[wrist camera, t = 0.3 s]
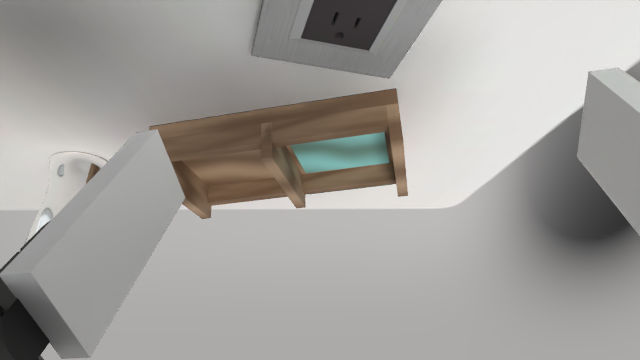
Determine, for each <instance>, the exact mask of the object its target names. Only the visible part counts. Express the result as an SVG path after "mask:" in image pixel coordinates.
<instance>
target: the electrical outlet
mask: <svg viewBox="0 0 640 360" xmlns="http://www.w3.org/2000/svg"><path fill="white" fill-rule="evenodd" d="M441 1H442V0H264V1H263V5H262V10H261V14H260V18H259V23H258V27H257V32H256V36H255V40H254V45H253V49H252V56H257V57H263V58H269V59H275V60H281V61H287V62H293V63H299V64H305V65H311V66H317V67H323V68H329V69H335V70H341V71H347V72H353V73H359V74H365V75H371V76H377V77H383V78H390V77H391V75H392V74H393V72H394V71H395V69H396V68H397V66H398V65H399V63H400V62H401V60H402V59H403V57H404V56H405V55H406V53H407V52H408V50H409V49H410V47H411V46H412V44H413V43H414V41H415V40H416V38H417V37H418V35H419V34H420V32H421V31H422V29H423V28H424V27H425V25H426V24H427V22H428V21H429V19H430V18H431V16H432V15H433V13H434V12H435V10H436V9H437V7H438V6H439V4H440V3H441Z"/></svg>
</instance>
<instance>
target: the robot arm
mask: <svg viewBox="0 0 640 360" xmlns="http://www.w3.org/2000/svg"><path fill="white" fill-rule="evenodd" d="M577 157H578V159H579V160H580V161H581V162H582V164H583V165H584V166H585V168H586V169H587V170H588V171H589V173H590V174H591V175H592V176H593V178H594V179H595V180H596V181H597V183H598V184H599V185H600V186H601V188H602V189H603V190H604V191H605V193H606V194H607V195H608V196H609V198H610V199H611V200H612V201H613V203H614V204H615V205H616V207H617V208H618V209H619V210H620V211H621V213H622V214H623V215H624V217H625V218H626V219H627V220H628V222H629V223H630V224H631V225H632V227H633V228H634V229H635V230H636V231H637V233H638V234H639V235H640V82H638V81H637V80H635V79H634V78H633V77H631V76H630V75H628V74H627V73H626V72H624V71H623V70H621V69H620V68H612V69H605V70H597V71H590V72H588V80H587V87H586V94H585V102H584V109H583V116H582V125H581V132H580V139H579V146H578V154H577ZM184 199H185V196H184V193H183V191H182V188H181V186H180V183H179V181H178V178H177V176H176V174H175V171H174V169H173V166H172V164H171V161H170V159H169V156H168V154H167V151H166V149H165V147H164V144H163V142H162V139H161V137H160V134H159V132H158V129H157V130H149V131H142V132H136V133H135V134H134V135H133V136H132V137H131V138H130V139H129V140H128V141H127V142H126V143H125V144H124V146H123V147H122V148H121V149H120V150H119V151H118V152H117V153H116V154H115V155H114V156H113V157H112V158H111V159H110V160H109V161H108V162H107V163H106V164H105V165H104V166H103V167H102V168H101V169H100V170H99V171H98V172H97V173H96V175H95V176H94V177H93V178H92V179H91V180H90V181H89V182H88V183H87V184H86V185H85V186H84V187H83V188H82V189H81V190H80V191H79V192H78V193H77V194H76V195H75V196H74V197H73V198H72V199H71V200H70V201H69V203H68V204H67V205H66V206H65V207H64V208H63V209H62V210H61V211H60V212H59V213H58V214H57V215H56V216H55V217H54V218H53V219H52V220H51V221H49V222H48V223H46V224H45V225H43V226H42V227H41V228H40V229H39V230H38V231H37V233H36V234H35V235H34V236H33V237H32V238H31V241H28V242H27V243H26V244H25V245H24V246H23V247H22V248H21V251H20V252H17V253H16V254H15V255H14V256H13V257H12V258H11V259H10V261H8V262H7V263H6V264H5V265H4V266H3V268H2V269H0V360H44V359H43V358H42V357H41V353H42V352H43V350H44V349H45V348H46V346H47V345H48V343H50V344H51V345H52V346H53V348H54V349H55V350H56V352H57V353H58V354H59V356H60V357H61V358H62V359H64V358H89V357H91V355H92V354H93V352H94V350H95V348H96V347H97V345H98V344H99V342H100V340H101V339H102V337H103V335H104V333H105V332H106V330H107V328H108V327H109V325H110V323H111V322H112V320H113V318H114V317H115V315H116V313H117V312H118V310H119V308H120V307H121V305H122V303H123V302H124V300H125V298H126V297H127V295H128V293H129V292H130V290H131V288H132V287H133V285H134V283H135V281H136V280H137V278H138V276H139V275H140V273H141V271H142V270H143V268H144V266H145V265H146V263H147V261H148V260H149V258H150V256H151V255H152V253H153V251H154V250H155V248H156V246H157V244H158V243H159V241H160V240H161V238H162V236H163V234H164V233H165V231H166V229H167V228H168V226H169V224H170V223H171V221H172V219H173V218H174V216H175V214H176V213H177V211H178V209H179V208H180V206H181V204H182V203H183V201H184Z"/></svg>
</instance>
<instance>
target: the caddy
mask: <svg viewBox="0 0 640 360" xmlns="http://www.w3.org/2000/svg"><path fill="white" fill-rule="evenodd" d="M157 129H158V132H159V134H160V137H161V139H162V142H163V144H164V147H165V149H166V151H167V154H168V156H169V159H170V161H171V164H172V166H173V169H174V171H175V174H176V176H177V178H178V181H179V183H180V186H181V188H182V191H183V193H184V196H185V199H184V201H183V203H182V204H183V205H184V206H186V207H187V208H188V209H190V210H191V211H193V212H194V213H195V214H196V215H198V216H199V217H200V218H202V219H206V218H210V217H211V206H212V205H220V204H229V203H237V202H246V201H254V200H263V199H271V198H280V197H289V199H290V200H291V201H292V203H293V204H294V206H295V207H296V208H303V207H305V194H316V193H324V192H332V191H341V190H349V189H358V188H366V187H375V186H383V185H392V184H397V192H398V197H399V196H408V191H407V180H406V169H405V157H404V146H403V136H402V129H401V121H400V114H399V106H398V99H397V91H396V89H390V90H384V91H377V92H371V93H364V94H358V95H351V96H345V97H338V98H332V99H325V100H319V101H313V102H306V103H300V104H293V105H287V106H280V107H274V108H267V109H261V110H254V111H248V112H241V113H235V114H229V115H222V116H216V117H209V118H203V119H196V120H190V121H183V122H177V123H170V124H164V125H158V126H151V127H150V130H157Z"/></svg>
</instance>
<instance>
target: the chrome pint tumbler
mask: <svg viewBox="0 0 640 360" xmlns="http://www.w3.org/2000/svg"><path fill="white" fill-rule="evenodd" d="M106 163H107V161H106V160H104V159H102V158H100V157H97V156H95V155H91V154H87V153H82V152H61V153H57V154H55V155H53V156H52V157H51V158H50V162H49V184H48V189H47V193H46V196H45V199H44V201H43V203H42V206H41V208H40V210H39V212H38V214H37V216H36V219H35V221H34V223H33V225H32V227H31V229H30V231H29V234H28V237H27V239H26V242H25V244H26V243H27V242H28V241H31V238H32V237H33V236H34V235H35V234H36V233H37V231H38V230H39V229H40V228H41V227H42V226H43V225H45V224H46V223H48V222H49V221H51V220H52V219H53V218H54V217H55V216H56V215H57V214H58V213H59V212H60V211H61V210H62V209H63V208H64V207H65V206H66V205H67V204H68V203H69V201H70V200H71V199H72V198H73V197H74V196H75V195H76V194H77V193H78V192H79V191H80V190H81V189H82V188H83V187H84V186H85V185H86V184H87V183H88V182H89V181H90V180H91V179H92V178H93V177H94V176H95V175H96V173H97V172H98V171H99V170H100V169H101V168H102V167H103V166H104V165H105V164H106ZM25 244H24V245H25Z"/></svg>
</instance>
